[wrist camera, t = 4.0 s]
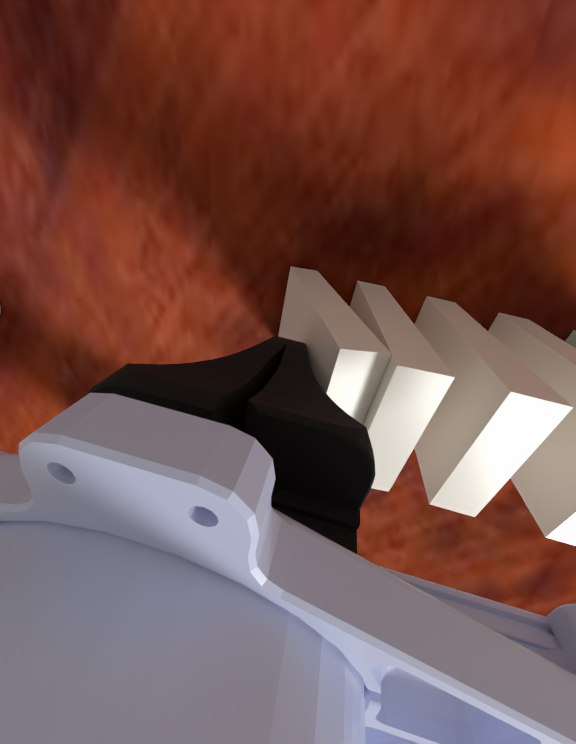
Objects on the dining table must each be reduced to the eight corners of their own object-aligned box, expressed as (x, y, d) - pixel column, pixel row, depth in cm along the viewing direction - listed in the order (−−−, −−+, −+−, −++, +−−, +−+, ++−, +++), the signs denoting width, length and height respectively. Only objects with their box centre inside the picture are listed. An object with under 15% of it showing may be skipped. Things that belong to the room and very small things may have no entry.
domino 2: (334, 356, 19) (345, 482, 10) (357, 280, 16) (397, 365, 8) (358, 361, 19) (388, 491, 10) (384, 286, 16) (454, 377, 8)
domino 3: (394, 370, 19) (429, 503, 10) (426, 295, 16) (510, 391, 8) (418, 376, 19) (474, 517, 10) (455, 302, 16) (573, 407, 7)
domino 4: (455, 385, 18) (545, 537, 10) (499, 312, 16) (671, 431, 7) (480, 392, 18) (593, 551, 10) (528, 319, 16) (739, 448, 7)
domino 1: (276, 344, 19) (303, 467, 10) (290, 266, 16) (340, 349, 8) (300, 346, 19) (343, 468, 11) (317, 270, 17) (391, 354, 8)
